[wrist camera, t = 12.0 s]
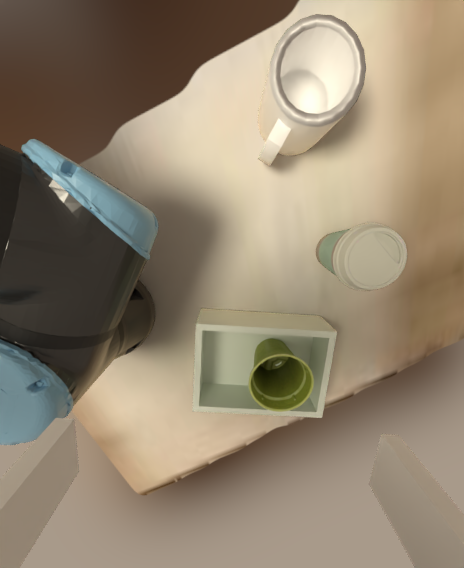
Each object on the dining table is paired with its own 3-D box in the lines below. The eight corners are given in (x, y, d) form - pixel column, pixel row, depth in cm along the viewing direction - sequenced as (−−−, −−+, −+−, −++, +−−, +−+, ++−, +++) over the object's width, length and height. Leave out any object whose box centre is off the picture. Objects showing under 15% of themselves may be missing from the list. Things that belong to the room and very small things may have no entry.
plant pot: (263, 386, 45) (272, 422, 36) (234, 348, 43) (235, 377, 34) (307, 359, 44) (325, 390, 35) (278, 319, 42) (291, 342, 33)
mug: (290, 188, 38) (313, 173, 28) (233, 153, 37) (235, 123, 26) (339, 103, 36) (385, 52, 25) (281, 62, 34) (303, -10, 24)
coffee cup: (360, 270, 41) (413, 286, 29) (311, 280, 41) (343, 300, 30) (356, 219, 39) (410, 215, 28) (304, 230, 40) (336, 230, 28)
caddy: (197, 384, 46) (192, 411, 39) (201, 308, 42) (195, 323, 35) (308, 389, 46) (321, 417, 39) (319, 315, 43) (337, 332, 36)
